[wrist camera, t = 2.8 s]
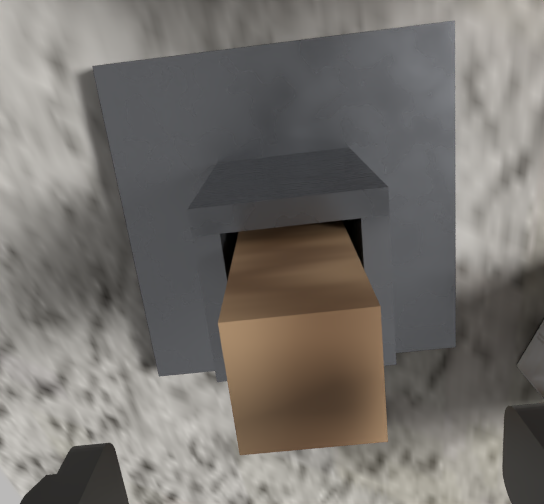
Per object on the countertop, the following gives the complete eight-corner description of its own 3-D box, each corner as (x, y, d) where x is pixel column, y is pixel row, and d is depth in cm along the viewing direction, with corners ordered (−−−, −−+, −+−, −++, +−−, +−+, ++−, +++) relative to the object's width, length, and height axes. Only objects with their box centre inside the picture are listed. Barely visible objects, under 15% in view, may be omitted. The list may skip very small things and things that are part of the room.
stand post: (325, 176, 28) (386, 299, 13) (332, 252, 29) (393, 445, 14) (245, 185, 28) (210, 317, 13) (255, 260, 29) (235, 460, 14)
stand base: (445, 23, 27) (561, -11, 16) (447, 335, 33) (534, 466, 22) (101, 66, 28) (-12, 62, 17) (164, 363, 33) (110, 504, 22)
